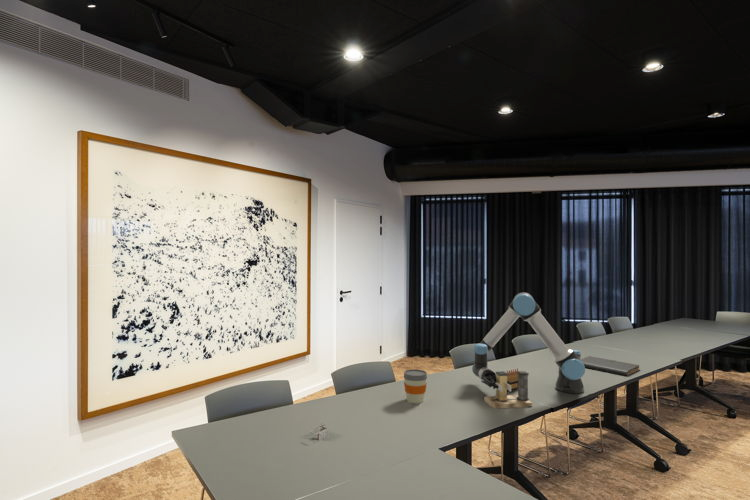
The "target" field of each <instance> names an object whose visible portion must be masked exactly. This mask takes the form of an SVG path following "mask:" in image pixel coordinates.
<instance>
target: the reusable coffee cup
mask: <svg viewBox="0 0 750 500" xmlns="http://www.w3.org/2000/svg"><path fill="white" fill-rule="evenodd" d="M427 379H428V376H427V371H425V370H423V369H415V368H413V369H407V370H404V372H403V380H404V381H403V385H404V391H405V393H406V394H405V395H406V401H407V402H408V403H411V404H421V403H422V404H423V402H424V400H425V393H426V391H427Z"/></svg>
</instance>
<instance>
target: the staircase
mask: <svg viewBox="0 0 750 500" xmlns="http://www.w3.org/2000/svg"><path fill="white" fill-rule="evenodd" d="M325 425H326V424H325V423H323V422H320V426H318V427H315V428H313V429H310V431H309V432H310V433H312V434H315V435H317V439H318V441H322V440H323V439H325V438H328V428H327V427H325ZM320 428H321V429H320ZM318 429H320V431H317V432H314V430H318Z"/></svg>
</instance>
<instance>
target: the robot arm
mask: <svg viewBox="0 0 750 500" xmlns="http://www.w3.org/2000/svg"><path fill="white" fill-rule="evenodd" d="M519 318H521V319H522V321H524V322H528V324H529V325H530V326H531V328H532V329H533V330H534V332H535V333H536V334H537V336H538V337H539V338H540V339H541V341H542V342H543V343H544V345H545V346H546V347H547V349H548V350H549V351H550V352H551V354H552V355H553V357H554V361H553V362H555V364H556V365H557V367H558V376H557V379H556V381H555V389H556V390H558V391H560V392H564V393H568V394H582V393H584V391H585V387H584V384H583V380H582V378H583V376H584V375H585V373H586V368H585V366H584V364H583V363H582V361H581V359H582V358H581V357H582V355H581V351H580V350H577V349H571V348H568V347H567V345H566V344H565V342H564V341H563V340H562V339H561V337H560V336H559V335H558V333H557V332H556V331H555V329H554V328H553V327H552V326H551V324H550V323H549V322H548V321H547V320H546V318H545V317H544V315H543V314H542V309H541V307H540V305H539V304H538V303H537V302H536V301H535V299H534V297H533V295H531V294H530V293H529V292H525V291H524V292H523V291H522V292H519V293H517V294H515V296H514V298H513V299H512V301H511V303H509V305H508V309H507V310H506V312H504V314H503V315H501V317H500V318H499V320H498V321H497V322H496V323H495V324H494V326H493V327H492V328H491V329H490V331H489V332H487V334H486V335H485V336H484V338H483V339H482V340H481V341H480V342H479V343H477V344H474V364H472V367H471V370H472V373H473V374H474V375H475V376H476V377H478V378H479V379H480V381H481V383H482V384H484V385H487V386H488V387H489V388H492V389H493V390H495V389H496V388H497V389H498V390H499V391H501V392H503V386H501V385H500V384H498V383H496V372H495V371H493V370H492V369H490V368H489V367H488V359H489V358H488V356H489V353H490V352H491V350H493V348H494V347H495V346H496V344H497V343H498V342H499V341H500V340H501V338H503V336H504V335H505V334H506V333H507V332H508V330H509V329H510V328H511V327H512V326H513V325H514V323H516V321H517V320H518V319H519ZM507 390H509V391H510V392H512V391H511V386H510V382H509V381H508V380H507Z"/></svg>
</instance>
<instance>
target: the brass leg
mask: <svg viewBox="0 0 750 500" xmlns="http://www.w3.org/2000/svg"><path fill="white" fill-rule="evenodd" d="M495 374H496V383H498V384H500V385H501V386H503V392H501V391H499V390H498V389H497V388H495V389H496V392H495V393H496V395H495V396H496V398H497V399H498V400H499V401H506V400H507V396H508V392H507V376H508V374H507V371H504V370H503V371H495ZM496 383H495V384H496Z"/></svg>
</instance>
